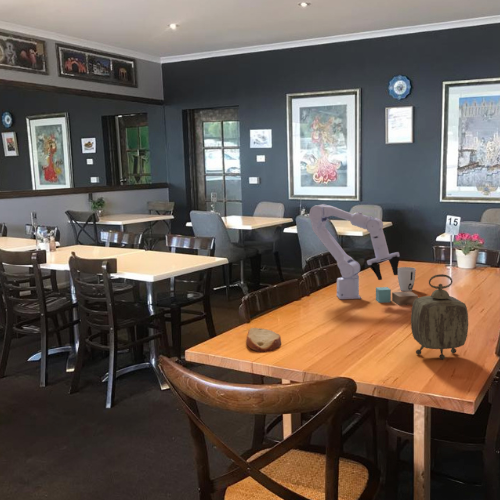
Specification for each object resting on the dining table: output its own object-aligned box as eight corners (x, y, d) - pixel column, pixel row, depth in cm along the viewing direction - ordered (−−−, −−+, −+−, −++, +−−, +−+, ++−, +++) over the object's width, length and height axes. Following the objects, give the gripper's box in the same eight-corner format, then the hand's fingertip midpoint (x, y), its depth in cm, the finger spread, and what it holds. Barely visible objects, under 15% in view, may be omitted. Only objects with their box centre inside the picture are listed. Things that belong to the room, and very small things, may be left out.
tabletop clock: (457, 351, 169) (459, 271, 165) (470, 361, 160) (472, 276, 156) (410, 353, 168) (411, 272, 165) (420, 363, 159) (421, 278, 156)
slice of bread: (256, 331, 197) (255, 321, 196) (298, 340, 185) (297, 329, 185) (222, 344, 183) (221, 334, 182) (265, 355, 172) (264, 343, 171)
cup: (411, 292, 248) (411, 270, 247) (394, 290, 253) (394, 269, 251) (418, 289, 254) (418, 267, 253) (401, 287, 259) (401, 266, 258)
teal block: (378, 302, 232) (378, 290, 231) (375, 300, 237) (375, 287, 236) (390, 302, 232) (390, 289, 231) (387, 299, 237) (387, 287, 236)
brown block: (398, 306, 226) (399, 296, 226) (392, 301, 234) (392, 292, 234) (417, 305, 227) (417, 295, 226) (410, 300, 235) (410, 291, 234)
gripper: (369, 250, 227) (377, 281, 228) (399, 241, 231) (407, 272, 231) (361, 250, 234) (369, 281, 235) (391, 242, 238) (399, 272, 238)
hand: (388, 277), depth 233 cm, fingers open, 7 cm apart
